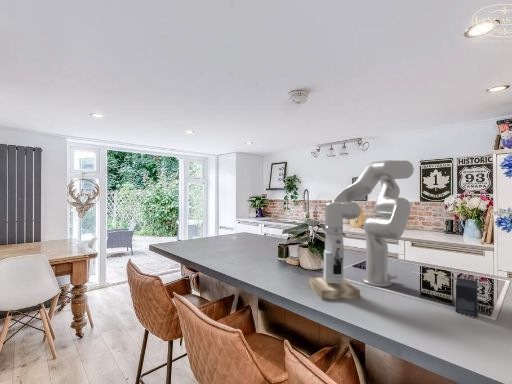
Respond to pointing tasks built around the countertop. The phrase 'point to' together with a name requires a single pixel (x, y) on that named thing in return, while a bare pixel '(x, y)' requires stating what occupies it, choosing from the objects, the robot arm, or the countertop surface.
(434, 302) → the countertop surface
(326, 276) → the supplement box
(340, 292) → the block
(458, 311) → the small box
